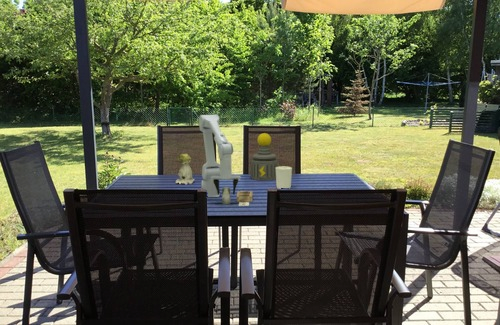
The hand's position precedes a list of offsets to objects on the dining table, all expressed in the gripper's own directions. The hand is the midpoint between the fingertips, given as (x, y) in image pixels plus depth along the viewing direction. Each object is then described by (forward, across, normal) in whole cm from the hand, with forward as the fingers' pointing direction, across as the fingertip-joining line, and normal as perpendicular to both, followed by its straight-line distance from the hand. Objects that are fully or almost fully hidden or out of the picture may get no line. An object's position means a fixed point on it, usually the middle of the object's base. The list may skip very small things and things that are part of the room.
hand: (226, 194), depth 210 cm
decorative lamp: (+5, +20, +67) cm, 70 cm away
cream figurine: (+5, -31, +54) cm, 63 cm away
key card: (+5, +9, -2) cm, 10 cm away
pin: (+5, 0, 0) cm, 5 cm away
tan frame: (+5, +9, +10) cm, 14 cm away
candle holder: (+5, +31, +37) cm, 49 cm away
